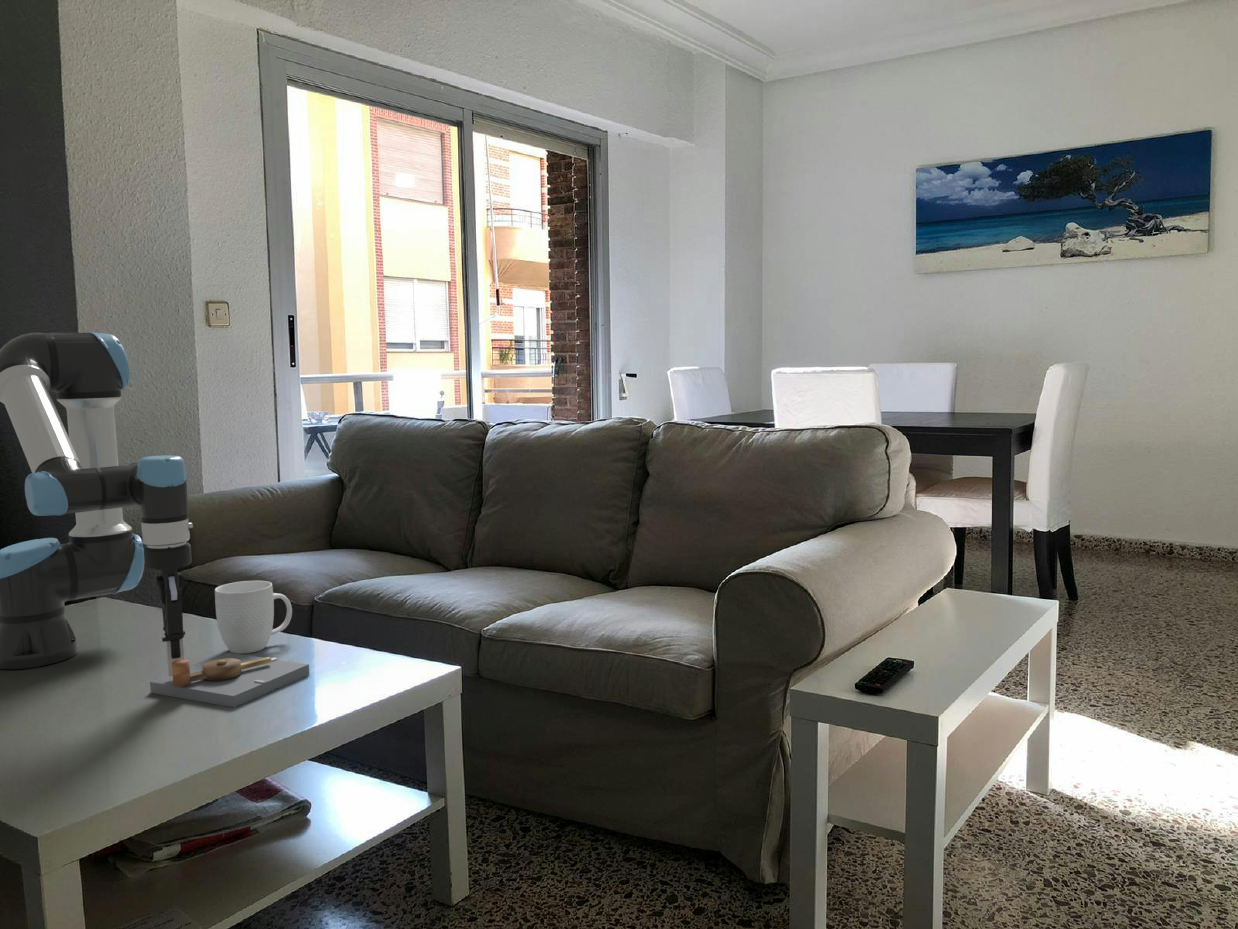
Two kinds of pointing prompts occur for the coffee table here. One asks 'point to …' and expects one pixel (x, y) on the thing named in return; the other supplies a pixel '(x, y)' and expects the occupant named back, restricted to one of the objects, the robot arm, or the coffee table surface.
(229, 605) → the mug
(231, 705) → the board
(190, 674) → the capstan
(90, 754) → the coffee table surface
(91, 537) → the robot arm
